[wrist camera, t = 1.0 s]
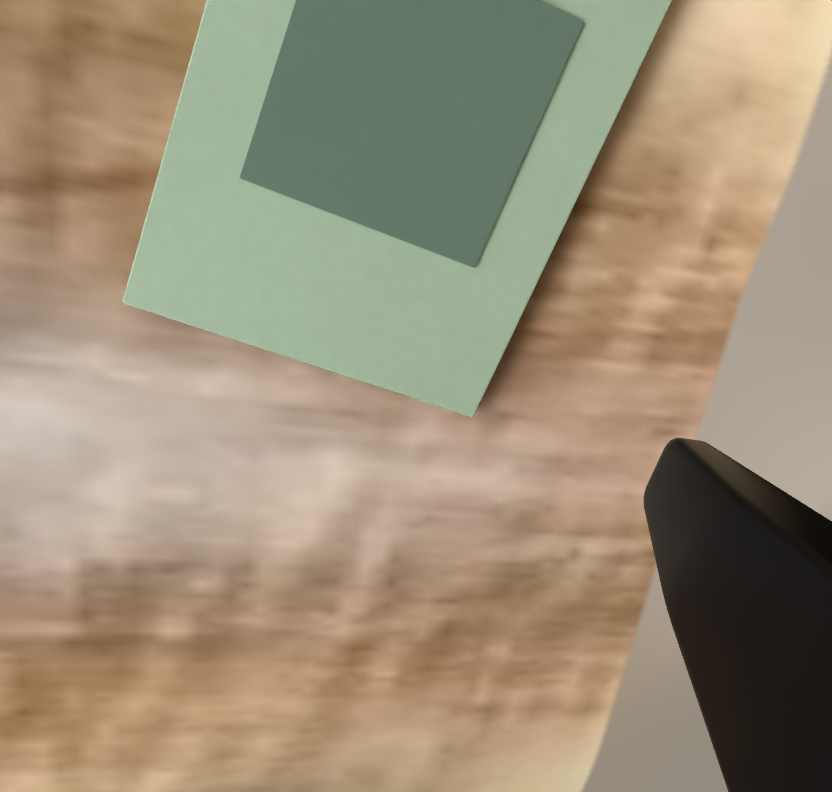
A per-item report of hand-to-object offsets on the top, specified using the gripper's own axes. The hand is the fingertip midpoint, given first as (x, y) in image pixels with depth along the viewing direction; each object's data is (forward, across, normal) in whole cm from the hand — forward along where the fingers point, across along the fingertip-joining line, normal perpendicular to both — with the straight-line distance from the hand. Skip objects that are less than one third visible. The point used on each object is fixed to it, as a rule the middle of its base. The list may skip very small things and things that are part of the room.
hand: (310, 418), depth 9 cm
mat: (+15, -2, -1) cm, 15 cm away
